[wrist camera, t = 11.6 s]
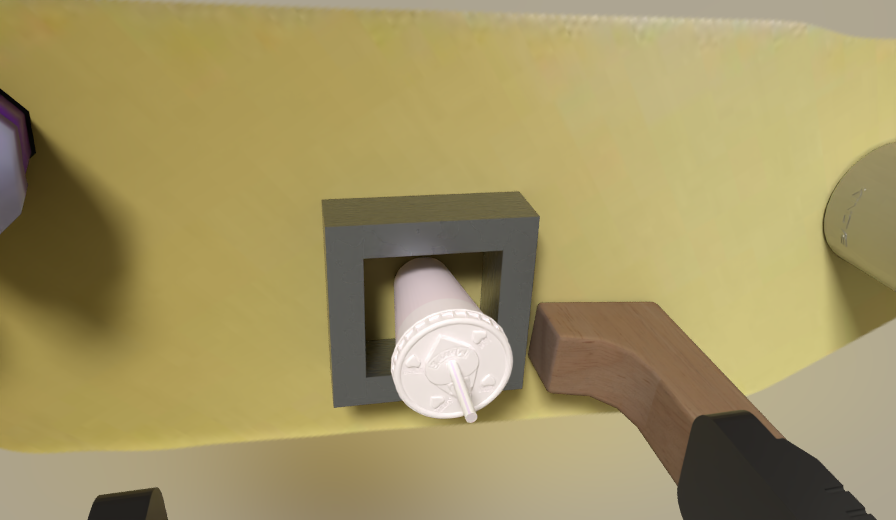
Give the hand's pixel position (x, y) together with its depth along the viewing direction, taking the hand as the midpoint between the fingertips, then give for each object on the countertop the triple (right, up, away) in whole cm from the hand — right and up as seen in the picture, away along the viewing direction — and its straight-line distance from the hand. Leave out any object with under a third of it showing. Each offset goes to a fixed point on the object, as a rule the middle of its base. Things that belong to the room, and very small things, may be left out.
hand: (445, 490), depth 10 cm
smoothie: (-2, +2, +33) cm, 33 cm away
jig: (-2, +2, +33) cm, 33 cm away
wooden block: (+10, -1, +38) cm, 39 cm away
